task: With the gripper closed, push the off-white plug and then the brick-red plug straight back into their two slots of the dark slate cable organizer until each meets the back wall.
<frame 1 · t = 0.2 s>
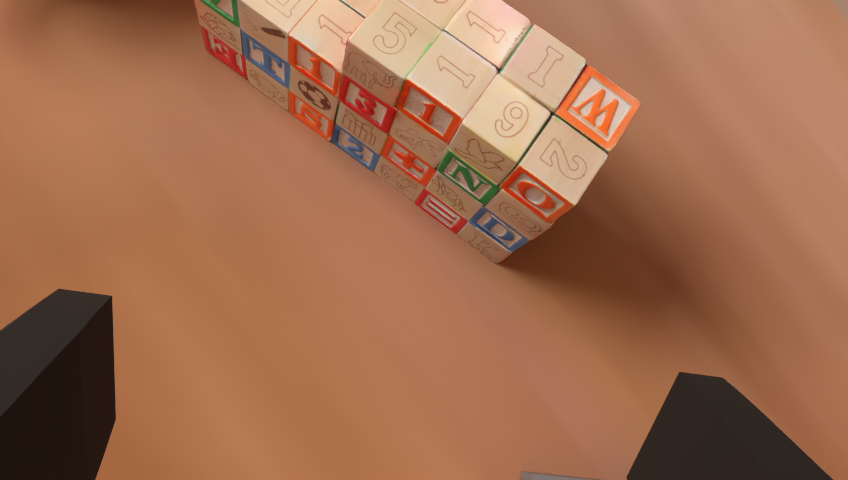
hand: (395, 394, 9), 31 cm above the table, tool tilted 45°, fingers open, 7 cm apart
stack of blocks: (380, 122, 44), on the table
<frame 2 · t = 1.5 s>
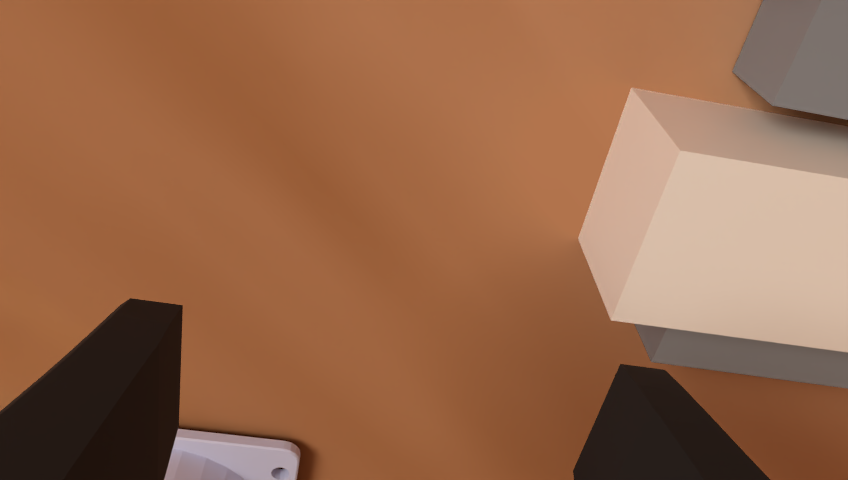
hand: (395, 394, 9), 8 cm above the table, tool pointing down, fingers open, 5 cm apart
off-white plug: (756, 188, 18), on the table
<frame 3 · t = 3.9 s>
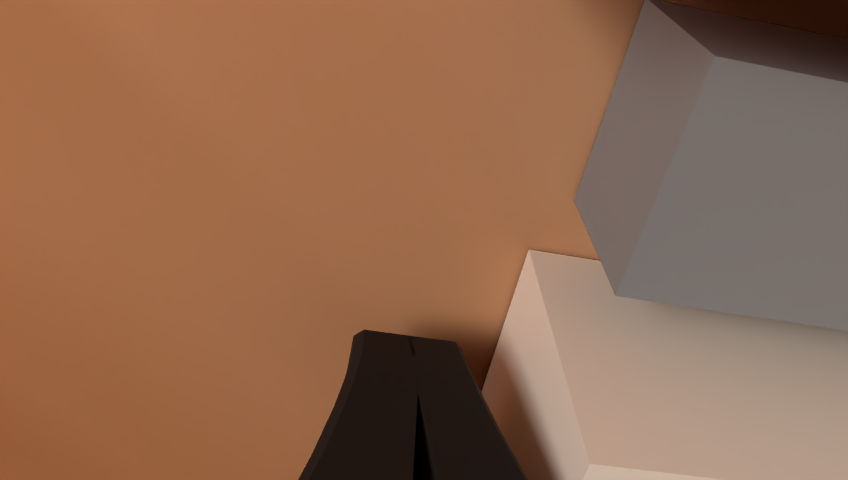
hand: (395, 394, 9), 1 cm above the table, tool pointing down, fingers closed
off-white plug: (747, 400, 11), on the table, touching gripper
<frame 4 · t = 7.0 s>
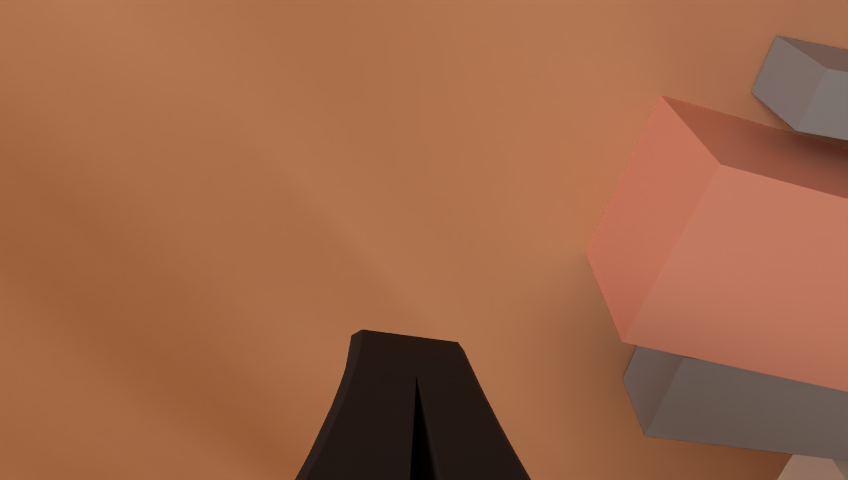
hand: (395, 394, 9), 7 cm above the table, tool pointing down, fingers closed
brick-red plug: (774, 215, 17), on the table
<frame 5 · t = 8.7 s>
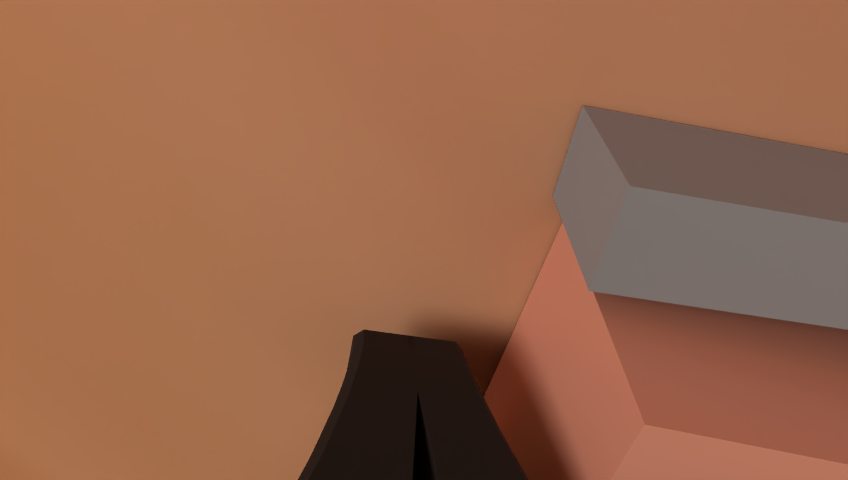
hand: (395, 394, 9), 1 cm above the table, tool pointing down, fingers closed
brick-red plug: (762, 391, 11), on the table, touching gripper
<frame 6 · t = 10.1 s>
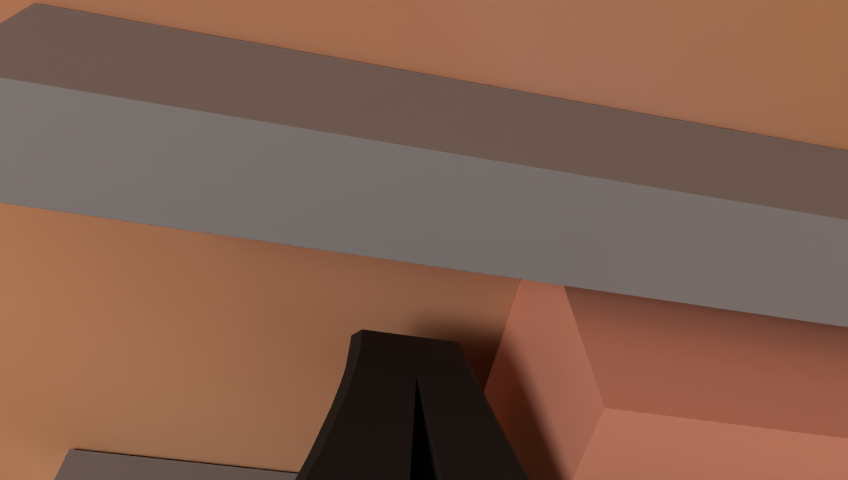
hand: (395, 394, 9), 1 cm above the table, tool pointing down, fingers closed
brick-red plug: (756, 366, 11), on the table
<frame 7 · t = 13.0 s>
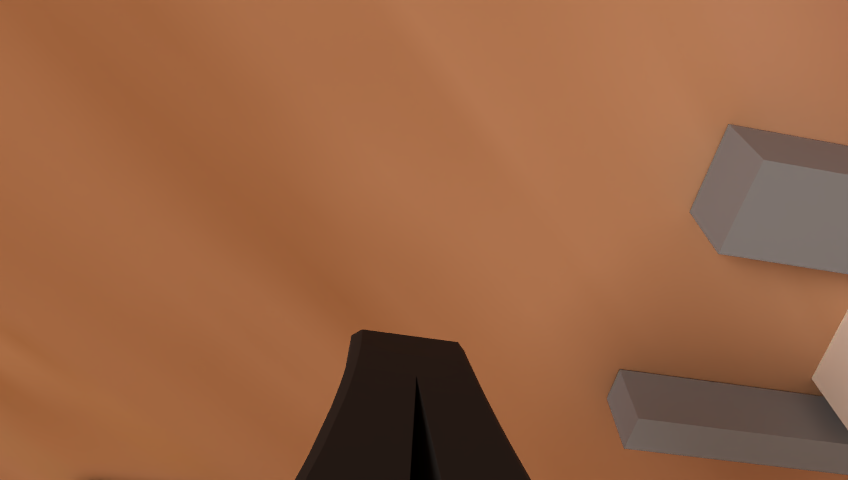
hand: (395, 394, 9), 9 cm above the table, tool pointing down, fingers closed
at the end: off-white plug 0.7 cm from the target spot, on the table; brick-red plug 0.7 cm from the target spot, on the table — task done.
